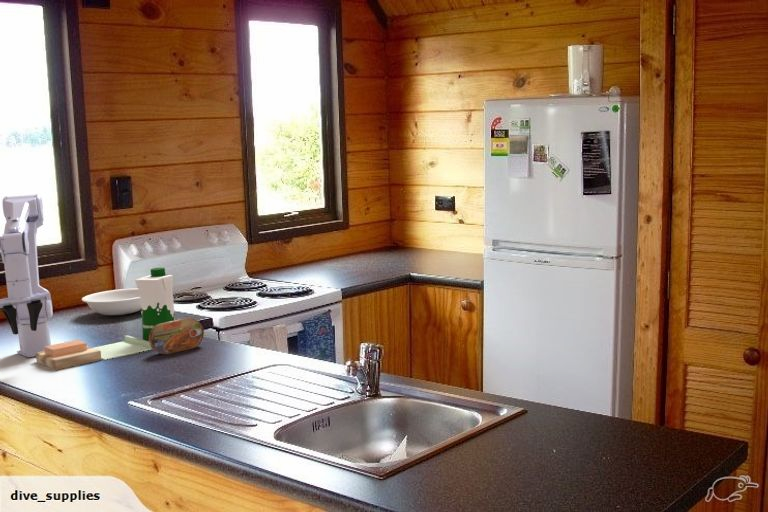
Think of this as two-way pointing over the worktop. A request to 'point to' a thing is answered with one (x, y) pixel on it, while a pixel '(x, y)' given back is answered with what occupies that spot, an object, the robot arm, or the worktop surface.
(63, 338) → the worktop surface
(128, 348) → the mat
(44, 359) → the wooden board
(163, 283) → the milk carton
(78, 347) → the tile
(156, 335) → the tin
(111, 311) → the soup bowl
